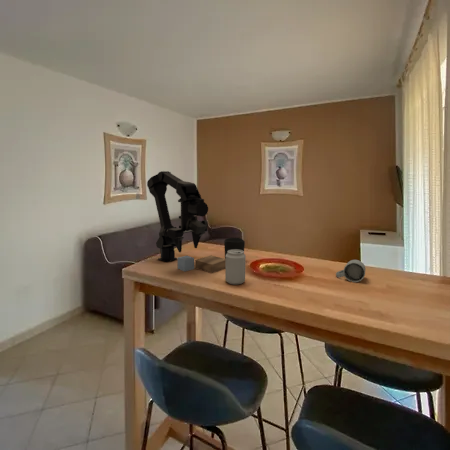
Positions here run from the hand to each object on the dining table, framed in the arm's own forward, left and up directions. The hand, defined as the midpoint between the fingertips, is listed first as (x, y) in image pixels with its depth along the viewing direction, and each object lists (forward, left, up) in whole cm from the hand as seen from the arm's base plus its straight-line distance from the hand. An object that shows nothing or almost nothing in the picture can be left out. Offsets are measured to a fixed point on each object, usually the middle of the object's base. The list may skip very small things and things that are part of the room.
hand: (188, 250), depth 129 cm
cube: (0, -1, -8) cm, 8 cm away
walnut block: (+7, +7, -8) cm, 13 cm away
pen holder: (+8, +22, -8) cm, 25 cm away
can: (+25, 0, -8) cm, 27 cm away
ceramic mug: (+58, +32, -8) cm, 67 cm away
